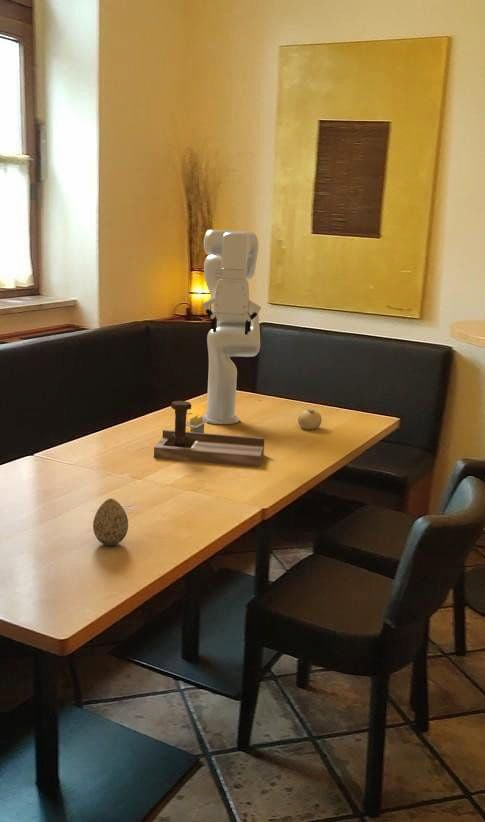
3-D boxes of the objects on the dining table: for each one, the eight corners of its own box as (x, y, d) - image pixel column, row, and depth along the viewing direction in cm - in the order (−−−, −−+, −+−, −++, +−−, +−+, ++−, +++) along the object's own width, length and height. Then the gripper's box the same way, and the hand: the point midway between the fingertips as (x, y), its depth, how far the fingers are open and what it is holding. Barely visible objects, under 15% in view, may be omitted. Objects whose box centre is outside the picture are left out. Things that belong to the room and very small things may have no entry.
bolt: (190, 451, 236) (192, 401, 233) (187, 456, 231) (189, 405, 228) (171, 450, 237) (172, 400, 233) (167, 454, 232) (169, 403, 228)
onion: (292, 427, 270) (293, 406, 268) (308, 424, 275) (310, 403, 274) (309, 432, 264) (311, 411, 263) (326, 429, 270) (327, 408, 268)
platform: (166, 441, 247) (166, 420, 245) (190, 428, 263) (191, 408, 262) (202, 447, 243) (202, 426, 241) (224, 433, 259) (225, 413, 258)
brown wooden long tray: (162, 446, 240) (163, 429, 239) (263, 454, 237) (264, 438, 236) (153, 457, 229) (154, 440, 227) (259, 466, 226) (260, 449, 224)
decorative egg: (85, 545, 167) (85, 499, 165) (108, 535, 173) (109, 490, 171) (112, 554, 163) (112, 507, 161) (134, 543, 169) (135, 498, 167)
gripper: (202, 274, 235) (199, 332, 239) (261, 277, 234) (258, 336, 238) (206, 272, 243) (204, 329, 247) (263, 276, 241) (260, 333, 245)
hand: (230, 333), depth 242 cm, fingers open, 9 cm apart
